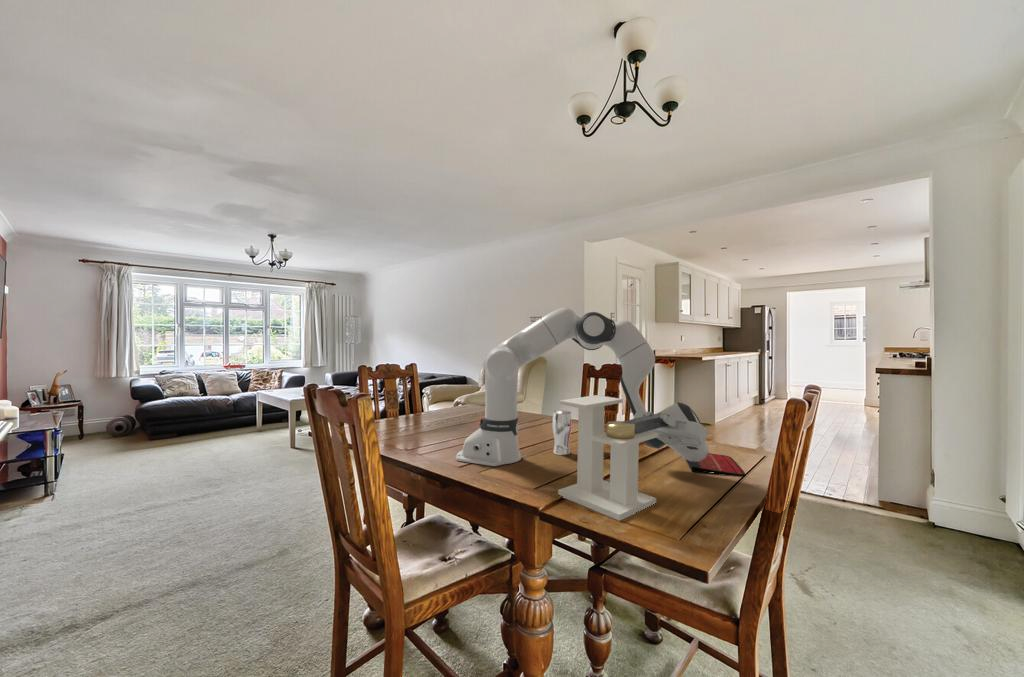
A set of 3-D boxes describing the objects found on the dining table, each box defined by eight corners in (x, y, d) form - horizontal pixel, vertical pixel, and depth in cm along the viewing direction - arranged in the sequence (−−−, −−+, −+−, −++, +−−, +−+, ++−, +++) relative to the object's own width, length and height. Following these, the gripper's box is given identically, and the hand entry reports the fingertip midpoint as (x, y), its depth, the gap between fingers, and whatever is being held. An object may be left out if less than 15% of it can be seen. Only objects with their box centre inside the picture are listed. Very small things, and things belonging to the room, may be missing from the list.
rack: (619, 520, 103) (621, 412, 103) (558, 495, 118) (559, 400, 118) (656, 503, 114) (658, 404, 113) (595, 482, 129) (596, 395, 128)
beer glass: (575, 453, 158) (575, 412, 158) (563, 457, 154) (563, 414, 153) (560, 449, 163) (560, 409, 163) (548, 452, 159) (548, 411, 158)
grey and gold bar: (623, 440, 105) (624, 428, 105) (600, 435, 111) (600, 423, 110) (675, 426, 121) (676, 415, 121) (653, 422, 126) (653, 411, 126)
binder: (691, 466, 139) (682, 449, 159) (691, 473, 139) (682, 455, 159) (746, 473, 135) (730, 454, 156) (746, 480, 135) (729, 460, 156)
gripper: (648, 418, 137) (627, 400, 129) (713, 430, 122) (693, 410, 114) (642, 436, 135) (620, 419, 127) (707, 451, 120) (687, 433, 112)
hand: (655, 415), depth 121 cm, fingers closed on grey and gold bar, 3 cm apart
